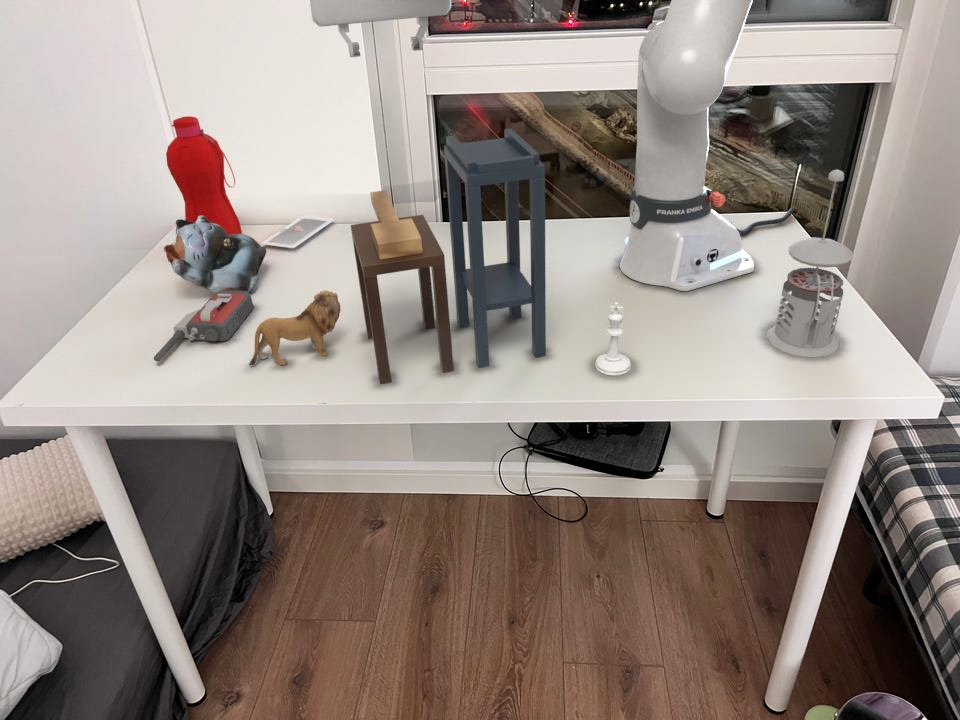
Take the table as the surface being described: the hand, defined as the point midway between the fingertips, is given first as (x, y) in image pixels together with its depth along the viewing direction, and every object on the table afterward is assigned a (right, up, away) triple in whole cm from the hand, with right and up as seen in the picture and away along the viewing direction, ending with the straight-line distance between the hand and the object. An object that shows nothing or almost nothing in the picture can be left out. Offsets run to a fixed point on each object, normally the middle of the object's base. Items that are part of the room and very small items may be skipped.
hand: (386, 53), depth 113 cm
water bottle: (-37, -24, +35) cm, 56 cm away
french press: (+60, -44, -4) cm, 75 cm away
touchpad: (-22, -21, +38) cm, 49 cm away
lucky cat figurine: (-31, -33, +21) cm, 50 cm away
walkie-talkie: (-29, -42, +6) cm, 51 cm away
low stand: (+3, -45, -1) cm, 45 cm away
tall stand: (+17, -43, 0) cm, 46 cm away
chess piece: (+33, -47, -7) cm, 58 cm away
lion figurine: (-13, -45, 0) cm, 47 cm away
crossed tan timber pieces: (+1, -27, -8) cm, 28 cm away
